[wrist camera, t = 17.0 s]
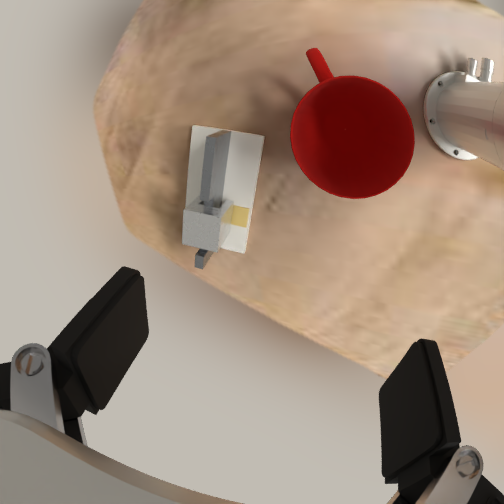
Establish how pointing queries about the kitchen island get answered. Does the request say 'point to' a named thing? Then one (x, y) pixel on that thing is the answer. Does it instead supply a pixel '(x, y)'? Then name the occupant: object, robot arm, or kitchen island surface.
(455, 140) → the robot arm
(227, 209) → the clip
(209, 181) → the rail
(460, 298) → the kitchen island surface
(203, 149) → the base board
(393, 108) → the ceramic cup
